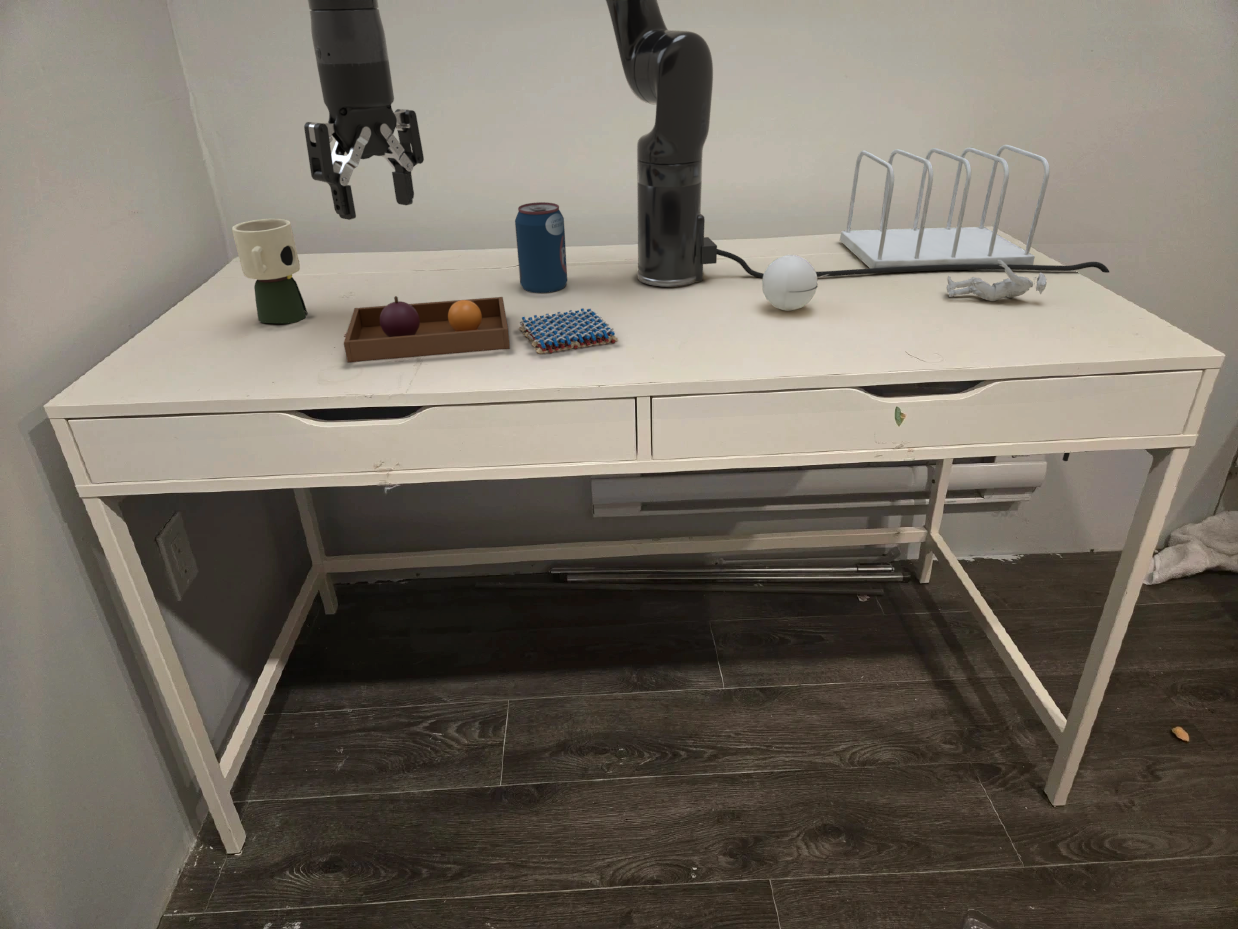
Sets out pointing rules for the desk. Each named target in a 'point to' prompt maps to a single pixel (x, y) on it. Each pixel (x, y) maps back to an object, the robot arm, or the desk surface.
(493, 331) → the tray
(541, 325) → the woven mat
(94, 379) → the desk surface
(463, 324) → the apricot
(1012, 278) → the soldier figure
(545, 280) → the soda can
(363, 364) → the desk surface
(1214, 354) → the desk surface
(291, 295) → the character mug
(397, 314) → the plum
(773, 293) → the seamed sphere
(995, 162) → the file sorter
